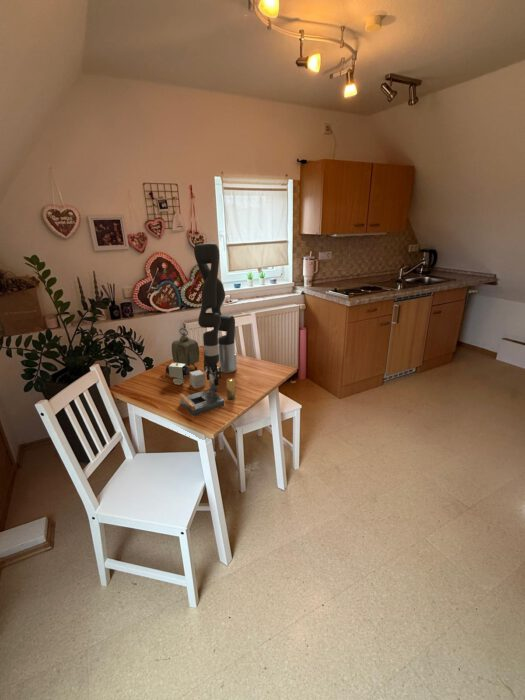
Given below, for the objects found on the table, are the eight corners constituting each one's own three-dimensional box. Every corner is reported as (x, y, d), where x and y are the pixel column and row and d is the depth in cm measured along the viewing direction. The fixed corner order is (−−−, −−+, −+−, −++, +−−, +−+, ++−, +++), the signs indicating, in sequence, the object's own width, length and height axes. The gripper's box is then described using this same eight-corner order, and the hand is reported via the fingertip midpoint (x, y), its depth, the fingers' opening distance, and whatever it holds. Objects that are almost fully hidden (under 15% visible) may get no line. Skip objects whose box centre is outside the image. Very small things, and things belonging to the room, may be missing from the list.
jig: (210, 394, 162) (210, 385, 161) (224, 405, 152) (224, 396, 150) (180, 403, 154) (179, 394, 152) (193, 416, 143) (192, 406, 141)
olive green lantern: (200, 369, 192) (197, 328, 183) (189, 374, 185) (185, 332, 176) (184, 363, 199) (180, 324, 191) (172, 368, 193) (168, 328, 184)
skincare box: (200, 381, 176) (199, 369, 173) (205, 386, 171) (204, 373, 168) (190, 384, 173) (189, 372, 170) (194, 389, 168) (193, 376, 165)
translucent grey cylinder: (215, 388, 168) (214, 371, 165) (219, 391, 165) (218, 373, 162) (208, 390, 166) (207, 373, 162) (212, 393, 163) (211, 375, 159)
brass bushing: (232, 395, 161) (231, 377, 157) (236, 399, 158) (236, 380, 154) (225, 398, 159) (224, 379, 155) (229, 401, 156) (229, 382, 152)
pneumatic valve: (187, 386, 170) (185, 365, 166) (167, 384, 172) (164, 363, 168) (191, 381, 175) (189, 361, 171) (171, 380, 178) (169, 359, 173)
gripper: (225, 355, 155) (226, 385, 160) (211, 347, 166) (213, 375, 171) (211, 358, 151) (212, 389, 156) (198, 350, 161) (200, 379, 167)
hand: (212, 382), depth 164 cm, fingers open, 8 cm apart
